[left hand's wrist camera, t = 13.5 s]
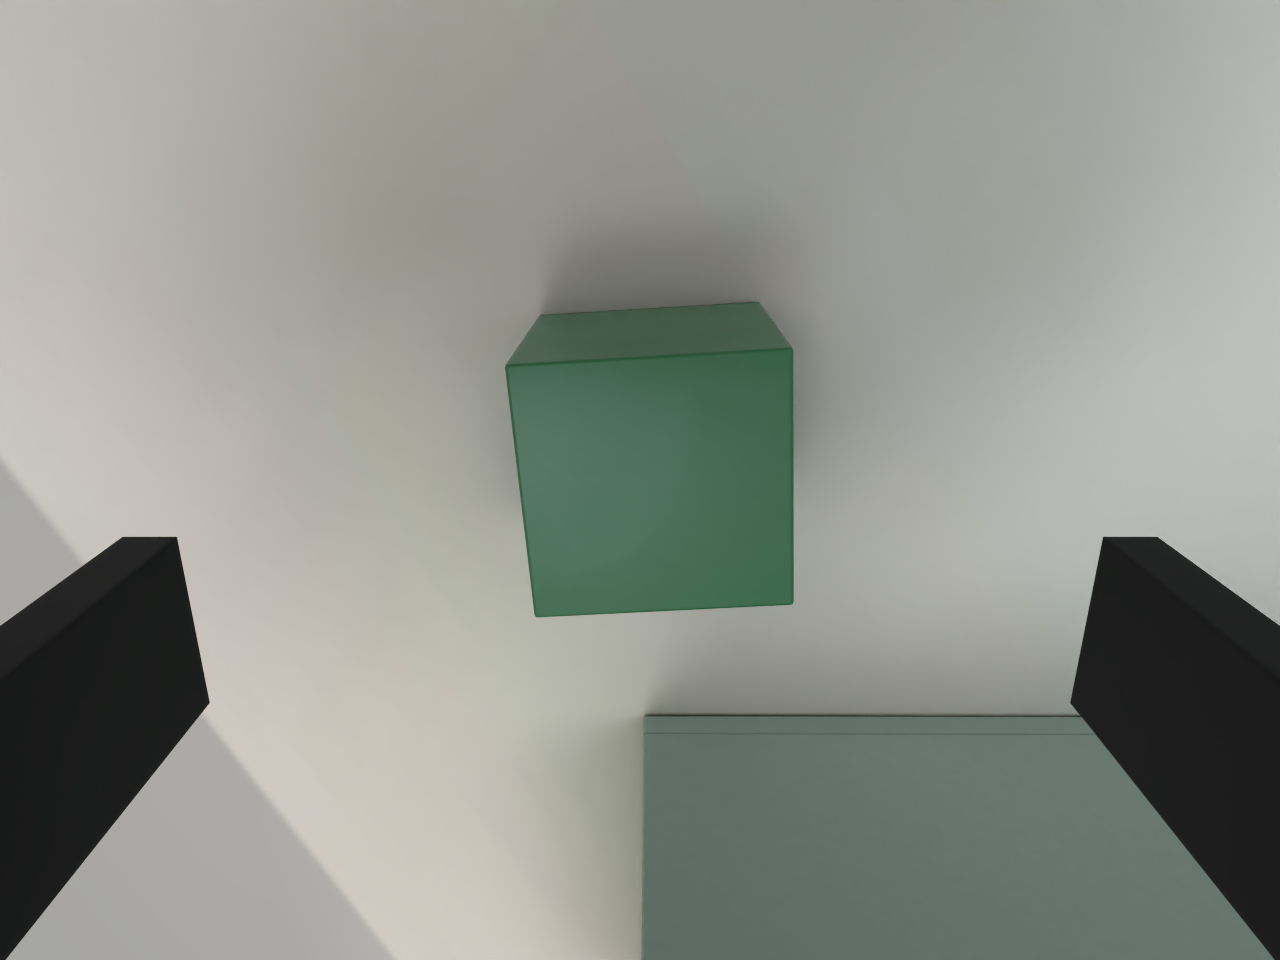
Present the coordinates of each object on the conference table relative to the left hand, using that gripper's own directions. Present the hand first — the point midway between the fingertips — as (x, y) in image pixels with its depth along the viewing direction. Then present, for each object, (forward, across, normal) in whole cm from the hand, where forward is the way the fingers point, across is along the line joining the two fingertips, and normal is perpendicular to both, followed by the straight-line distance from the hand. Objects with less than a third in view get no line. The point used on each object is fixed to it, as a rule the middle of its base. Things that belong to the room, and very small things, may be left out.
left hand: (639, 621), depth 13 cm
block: (+10, 0, 0) cm, 10 cm away
